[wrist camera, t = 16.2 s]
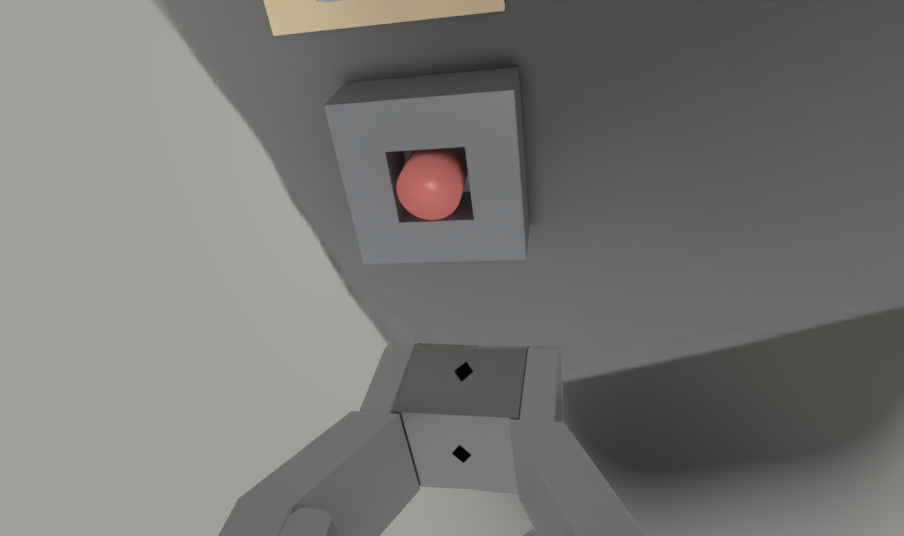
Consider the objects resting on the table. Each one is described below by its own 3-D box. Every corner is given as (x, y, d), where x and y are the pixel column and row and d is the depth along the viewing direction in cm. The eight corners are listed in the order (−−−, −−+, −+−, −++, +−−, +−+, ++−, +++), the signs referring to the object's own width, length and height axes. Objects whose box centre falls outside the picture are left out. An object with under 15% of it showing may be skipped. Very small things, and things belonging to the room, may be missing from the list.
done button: (465, 133, 34) (456, 158, 31) (472, 190, 36) (464, 218, 33) (404, 137, 35) (390, 162, 32) (415, 193, 37) (402, 221, 34)
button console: (518, 66, 33) (514, 89, 29) (529, 225, 38) (526, 259, 35) (346, 82, 35) (323, 105, 31) (379, 231, 40) (363, 264, 37)
